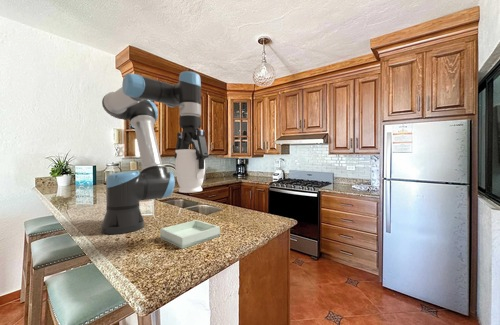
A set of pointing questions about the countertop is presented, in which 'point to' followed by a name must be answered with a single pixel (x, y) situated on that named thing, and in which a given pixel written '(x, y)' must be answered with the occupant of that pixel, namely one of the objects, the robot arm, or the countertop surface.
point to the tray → (189, 233)
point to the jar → (187, 171)
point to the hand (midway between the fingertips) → (190, 178)
